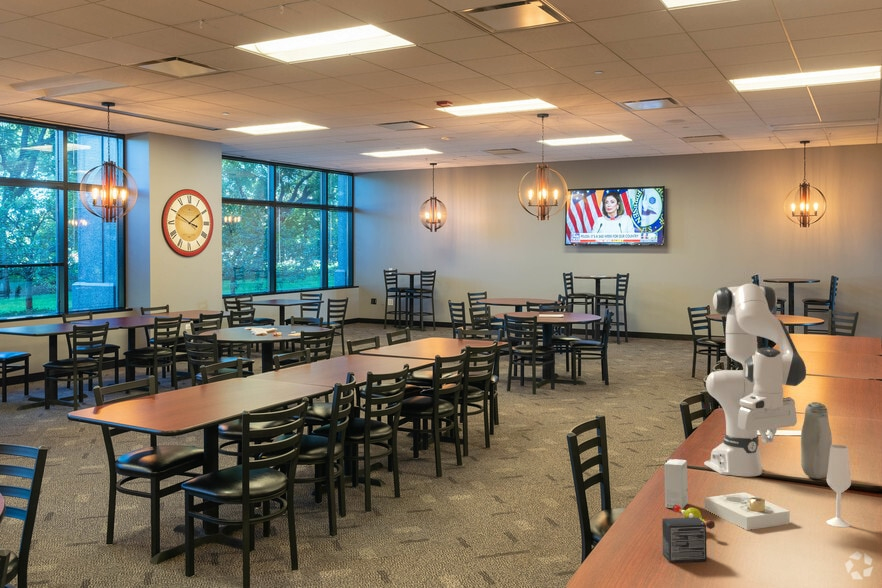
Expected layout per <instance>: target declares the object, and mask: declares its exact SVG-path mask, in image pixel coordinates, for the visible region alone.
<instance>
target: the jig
mask: <svg viewBox="0 0 882 588" xmlns="http://www.w3.org/2000/svg"><path fill="white" fill-rule="evenodd" d="M754 497H756V498H759V497H758V496H754V495H753V494H750V493H748V492H736V493H730V494H728V493H727V494H723V495H715V496H714V495H713V496H709V497H708V496H706V497H704V511H706V510H707V511H706V512H708V511H709V512H708V513H710V512H711V513H710V514H712V513H713V514H712V515H714V514H715V516H716V515H717V517H718V516H719V518H720V519H723V520H725V521H727V522H728V523H731V524H733V523H734V524H733V525H735V524H736V525H735V526H737V525H738V526H737V527H739V526H740V528H741V527H742V528H741V529H743V528H744V529H743V530H745V531H750V530H751V529H752V530H757V529H763V528H769V527H778V526H785V525H789V524H790V515H791V514H790V510H788V509H785V508H784V507H781V506H778V505H776V504H774V503H771V502H769V501H768V500H765V512H754V511H750V498H754Z"/></svg>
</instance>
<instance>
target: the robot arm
mask: <svg viewBox="0 0 882 588" xmlns="http://www.w3.org/2000/svg"><path fill="white" fill-rule="evenodd" d="M777 298H778V297H777V295H776V291H775V289H774V288H773V287H770V286H765V285H762V286H760V285H757V284H755V283H745V284H742V285H739V286H729V287H727V286H722V287H718V288H717V289H716V290H715V291H714V295H713V297H712V304H713V307H714V310H715V312H716V313H718V314H719V315H722V316H726V321H725V353H726V355H727V356H728V357H729V358H730V359H732V360H734V361H735V362H738V363H740V364H741V365H742V368H743V369H741V370H740V369H739V370H738V369H737V370H734V369H729V370H728V369H721V370H716V371H711V372H710V373H709V375H708V376H707V377H706V381H705V387H706V391H707V393H708V394H709V395H710V396H711V397H712V398H714V399H715V400H716V401H717V402H718V404H719V405H720V406H721V407H722V409H723V411H724V412H723V413H724V417H725V428H726V429H725V430H726V431H725V434H721V438H723V440H722V443H720V444H719V445H717V446H716V447H714V448H713V449H712V450H711V453H710V459H708V460H706V461H704V466H706V467H708V468H710V469H711V470H712V471H715V472H716V473H718V474H720V475H725V476H727V475H728V476H733V477H734V476H736V477H737V476H738V477H747V478H748V477H757V476H760V475H762V473H763V472H762V471H763V470H764V468H763V467H764V466H762V463H761V453H760V448H759V443H760V439H759V435H760V436H761V441H762V443H765V444H767V443H773V442H774V437H775V435H776V433H777V429H779V428H780V429H782V428H788V427H796V424H797V421H798V420H797V419H798V418H797V417H798V416H797V409H796V401H795V400H794V398H792V397H791V396H790V397H789V396H788V397H784V387H783V385H785V386H792V387H796V386H798V385H799V384H801V383H802V382H804V380H806V377H807V367H806V364H805V361H804V360H803V358H802V356H801V355H800V354H799V352H798V350H797V348H796V345H795V343H794V341H793V340H792V338H791V335H790V334H789V331H788V329H787V327H786V325H785V324H784V322H783V321H782V320H780V319H779V318H777V317H776V316H775V315H774V314H773V312H774V311H775V310H776V306H777V303H778V299H777ZM758 337H761V338H764V339H768V340H770V341H772V342H773V343H775V345H777V347H778V349H779V350H778V349H777V348H773V347H761V348H758ZM758 432H759V435H758Z"/></svg>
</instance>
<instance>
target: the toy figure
mask: <svg viewBox="0 0 882 588" xmlns="http://www.w3.org/2000/svg"><path fill="white" fill-rule="evenodd" d="M671 509H672V511H673V512H674V513H680V512H681V514H682V515H683V518H692V517H699V518H700V519H701V520H702V521H703V522H704V523H705V524H706V529H709V530H712V529H714V528H715V527H716V523H715V522H714V521H713V520H705V519H703V517H702V516H703V515H702V513H701V511H700V510H699V509H697V508H696V507H688V508H687V509H686V510H685V509H683V510H681V507H680V506H679V505H674V506H673V508H671Z"/></svg>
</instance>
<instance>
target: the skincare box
mask: <svg viewBox="0 0 882 588" xmlns="http://www.w3.org/2000/svg"><path fill="white" fill-rule="evenodd" d="M688 493H689V492H688V461H687V460H686V459H676V458H669V459H668V460H667V461H666V462H665V463H664V503H665V504H664V506H665V508H669V509H672V508H673V506H674V505H679V506H680V507H681V510H684V508H685V506H686V505H688V503H689V501H688V500H689V499H688Z"/></svg>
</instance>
